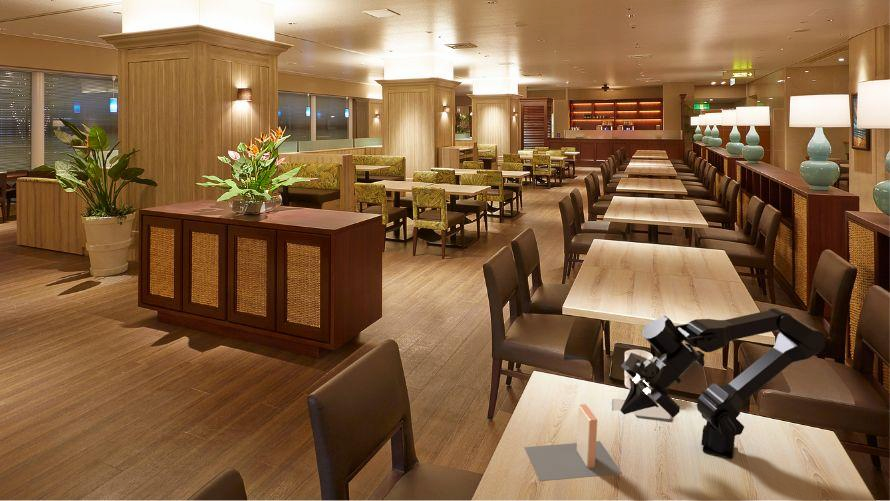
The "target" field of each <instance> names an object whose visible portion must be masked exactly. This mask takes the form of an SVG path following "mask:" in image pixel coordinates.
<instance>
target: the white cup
mask: <svg viewBox="0 0 890 501" xmlns="http://www.w3.org/2000/svg"><path fill="white" fill-rule="evenodd" d="M630 353H634V354H637V355H639V356H642V357H644V358H646V359H648V360H651V359H652V358H653V357H654V356H653V354H652V353H651V352H649V351H646V350H643V349H642V350H641V349H629V350H625V351H624V362H625V361H627V359H628V357H629V355H630ZM623 374H624V386H625V388H627V389H629V390H630V389H631V385H630V380H629V378H631V379H633V377H632V376H631V375H630V374H629V373H627V372H626V371H625V370H624V373H623ZM648 383H649V382H648ZM648 383H647V384H648ZM647 384H646V385H647ZM647 386H648V385H647ZM648 387H649V386H648ZM649 388H650V387H649Z"/></svg>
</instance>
